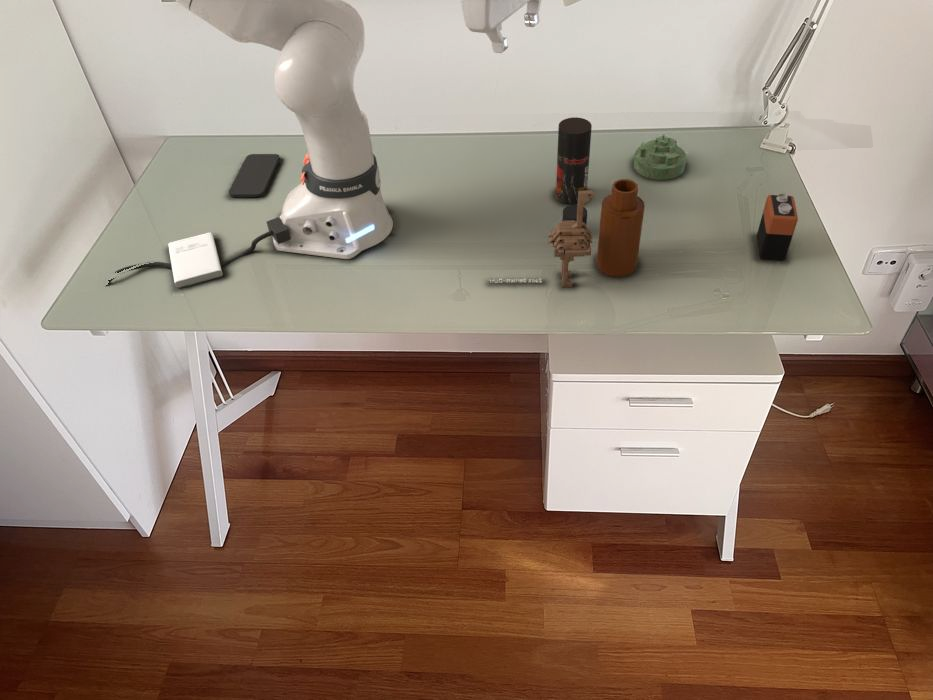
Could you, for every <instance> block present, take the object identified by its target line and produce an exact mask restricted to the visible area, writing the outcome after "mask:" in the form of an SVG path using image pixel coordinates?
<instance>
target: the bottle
mask: <svg viewBox="0 0 933 700" xmlns="http://www.w3.org/2000/svg"><path fill="white" fill-rule="evenodd" d="M638 193H639V184H638V182H636V181H635V180H633V179H630V178H629V179H628V178H620V179H618V180H614V182H613V183H612V185H611V194H608V195H606V197H604V198H603V199H602V201H601V209H600V219H599V231H598V241H597V253H596V267H597V268H598V270H599V271H600V272H601V273H603V274H605V275H607V276H610V277H615V278H616V277H625V276H628V275H631V274H632V273H634V271H635V270H636V269H637V265H638V257H639V251H640V243H641V236H642V230H643V222H644V217H645V216H644V215H645V207H646V206H645V201H644V200H643V199H642V198H641V197H640V196H638Z"/></svg>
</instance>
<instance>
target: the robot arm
mask: <svg viewBox="0 0 933 700" xmlns="http://www.w3.org/2000/svg"><path fill="white" fill-rule="evenodd" d="M174 1H175V2H176V3H178V4H179V5H181V6H182V7H184V8H185V9H187V10H188V11H190V12H191V13H192V14H194V15H196V16H197V17H198V18H200V19H201V20H203V21H204V22H206V23H207V24H209V25H210V26H212V27H214V28H215V29H217V30H218V31H219V32H222V33H223V34H224V35H225V36H227V37H229V38H231V39H232V41H233V40H234V41H235V42H239V43H243V44H248V43H250V44H251V43H252V44H258V45H262V46H265V47H269V48H271V49H273V50H276V51H279V54H278V56H277V60H276V64H275V70H274V77H273V78H274V79H273V85H274V90H275V93H276V95H277V97H278V99H279V100H280V102H281V103H282V104H283V105H284V107H286V108H287V109H288V110H290V111H291V112H293V113H294V114H295V115H294V116H295V117H296V118H297V120H298V123H299V125H300V128H301V130H302V133H303V137H304V140H305V145H306V149H307V153H306V154H305V156H304V158H303V166H302V169H301V176H300V180H301V182H300V183H299V184H298V185H296V186H294V188H292V189H291V190H290V192H289V193H288V194H287V196H286V198H285V200H284V202H283V205H282V208H281V209H282V210H281V214H280V215H279V216H278V217H277V216H276V217H275V218H273V219H269V220H267V221H266V226H267V229H268V231H266V232H265V233H262V234H260V235H259V236H257V237H255V238H254V239H253V240H252V241H251V245H250V247H249V248H247V249H245V250H244V251H243V252H241V253H240V254H239V255H236V256H234V257H232V258H230V259H227V260H225V261H222V262H220V266H221V268H223V267H226V266H227V265H229V264H231V263H233V262H235V261H236V260H239V259H240V258H243V257H245V256H248V255H249V254H251V253H252V252H253V251H254V250H255V249H256V247H257V244H258V243H259V242H261V241H263V240H265V239H267V238H269V237H271V236H272V241H273V242H272V243H273V246H274V248H275V249H276V250H277V251H280V252H285V253H292V254H301V255H309V256H310V255H311V256H318V257H326V258H332V259H333V258H334V259H342V260H351V259H353V258H355V257H356V256H358V255H359V254H360V253H361V252H362V251H365V250H367V249H369V248H372V247H374V246H377V245H378V244H380V243H381V242H383V241H384V240H385V239H386V238H388V236H389V235H391V232H392V230H393V226H394V221H393V218H392V217H391V215H390V213H389V210H388V208H387V206H386V203H385V200H384V198H383V194H382V190H381V184H382V183H381V174H380V168H379V166H378V161H377V157H376V155H375V153H374V150H373V144H372V138H371V133H370V125H369V119H368V117H367V115H366V114H365V112H363V111H362V110H361V108H360V105H359V103H358V101H357V97H356V94H355V87H354V83H355V82H354V79H355V73H356V70H357V67H358V65H359V62H360V60H361V58H362V56H363V53H364V50H365V25H364V22H363V18H362V17H361V15H360V13H359V12H358V11H357V9H356V8H355V7H353V5H351V4H350V3H348V2H347V1H345V0H174ZM541 4H542V0H460V5H461V11H462V16H463V21H464V24H465V26H466V28H467V29H468V30H469V31H470V32H472V33H480V34H486V36H487V37H488V39H489V40H490V41H491V47H492V51H493V52H494V53H495V54H503V53H504V52H505V51H506V50H508V48H509V44H508V37H504V36H503V35H502V33H501V31H502V30H503V27H502V23H504V22H505V21H506V20H508V19H509V18H510V17H511V16H512V15H514V14H516V13H517V12H518V11H519V10H520V9H521V8H523V7H524V6H525V5H526V12H525V13H524V15H523V18H524V25H525V26H526V27H527V28H534V27H535V26H536V25H538V24H539V23H540V14H539V13H540V10H541V9H540V8H541ZM150 262H151V261H150ZM150 262H149V261H148V263H149V264H144V265H141V266H139V267H136V268H134V269H131V270H129V271H128V272H130V271H134V270H140V269H145V268H152V267H159V268H161V267H162V268H167V269H171V270H172V265H171V263H168V262H163V261H153V262H154V263H150ZM137 264H138V265H139V264H140V263H137ZM137 264H132V265H127V266H124V267H122V268H120V269H118V270H116V271H114V272H115V273H116V272H117V273H119V272H121V271H123V270H124V269H125V270H126V269H129V268H131V267H133V266H136V265H137ZM114 279H115V278H113V279H111V280H108V281H109V283H108V284H109V285H110V284H111V283H112V282H113V280H114ZM109 285H106V286H105V287H108V286H109Z"/></svg>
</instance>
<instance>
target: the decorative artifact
mask: <svg viewBox="0 0 933 700" xmlns="http://www.w3.org/2000/svg"><path fill="white" fill-rule="evenodd" d="M677 142H678V141H677V140H676V139H674V138H671V137H669V136H666V135H665V134H662V135H661V136H658V137H656V138H654V139H652V140H649V141H647V142H643V141H642V142H641V144H640V146H639V147H637V149H636V150H635V152H634V158H633V169H634V170H635V172H636V173H637V174H639V175H640V176H642V177H644V178H647V179H650V180H656V181H668V180H673V179H675V178H678V177H679V176H681V175H682V174H683V173H684V171H685V167H686V163H687V162H686V161H687V153H686V152H685V150H684V149H683V148H682V147H680V146H678V144H677Z"/></svg>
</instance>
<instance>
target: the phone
mask: <svg viewBox="0 0 933 700" xmlns="http://www.w3.org/2000/svg"><path fill="white" fill-rule="evenodd" d="M280 160H281V158H280V154H277V153H251V154H248V155H246V156H245V158H244V160H243V162H242V165H241V166H240V168H239V170H238V172H237V175H236V176H235V178H234V180H233V181H232V184H231V186H230V187H229V190H228V194H229V197H230V198H262V197H263V196H264V195H265V194H266V192H267V189H268V187H269V185H270V183H271V180H272V178H273V177H274V174H275V172H276V169H277V167H278V165H279V163H280Z"/></svg>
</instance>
